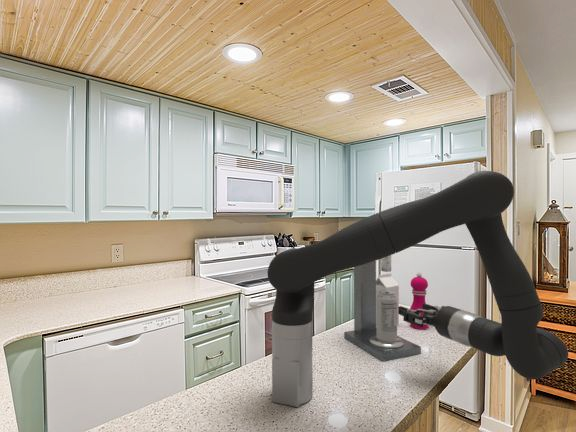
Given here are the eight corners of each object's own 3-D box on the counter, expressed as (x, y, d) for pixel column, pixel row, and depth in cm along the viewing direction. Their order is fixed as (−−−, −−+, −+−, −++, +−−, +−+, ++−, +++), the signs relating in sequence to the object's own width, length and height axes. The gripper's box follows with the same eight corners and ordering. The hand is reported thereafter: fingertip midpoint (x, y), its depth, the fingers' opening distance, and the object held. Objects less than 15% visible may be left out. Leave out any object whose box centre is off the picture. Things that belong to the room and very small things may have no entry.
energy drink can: (393, 337, 107) (393, 289, 107) (399, 344, 101) (399, 294, 101) (374, 337, 107) (374, 289, 107) (379, 344, 101) (379, 294, 101)
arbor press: (441, 349, 104) (440, 238, 104) (382, 361, 95) (382, 240, 95) (396, 329, 122) (396, 235, 122) (344, 337, 114) (343, 236, 114)
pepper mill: (433, 330, 121) (433, 274, 121) (412, 330, 121) (412, 274, 121) (425, 323, 128) (425, 271, 129) (406, 323, 129) (406, 271, 129)
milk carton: (399, 325, 127) (398, 274, 127) (386, 328, 123) (386, 276, 123) (383, 320, 133) (383, 272, 133) (371, 323, 129) (371, 273, 129)
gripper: (483, 307, 82) (431, 293, 97) (439, 313, 76) (391, 297, 91) (482, 338, 82) (430, 319, 97) (438, 346, 76) (390, 324, 91)
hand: (411, 308), depth 94 cm, fingers open, 8 cm apart
